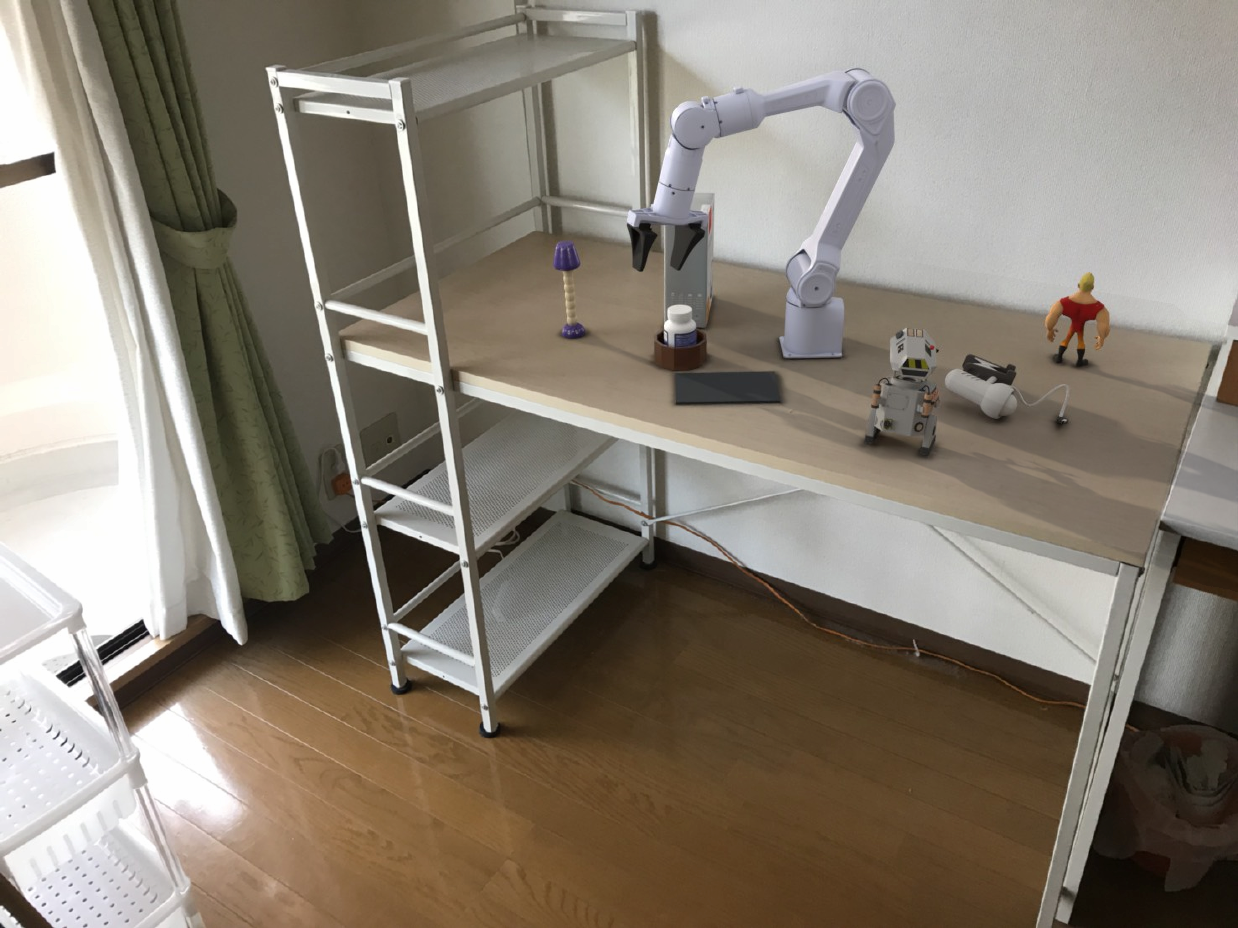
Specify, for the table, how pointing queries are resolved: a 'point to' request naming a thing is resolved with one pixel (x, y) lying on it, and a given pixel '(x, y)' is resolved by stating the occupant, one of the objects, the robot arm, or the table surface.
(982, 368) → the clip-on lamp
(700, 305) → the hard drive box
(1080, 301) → the action figure
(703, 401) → the mat
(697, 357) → the brown bowl
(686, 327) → the pill bottle
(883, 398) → the figurine
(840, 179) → the robot arm
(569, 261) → the toy lamp
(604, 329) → the table surface
